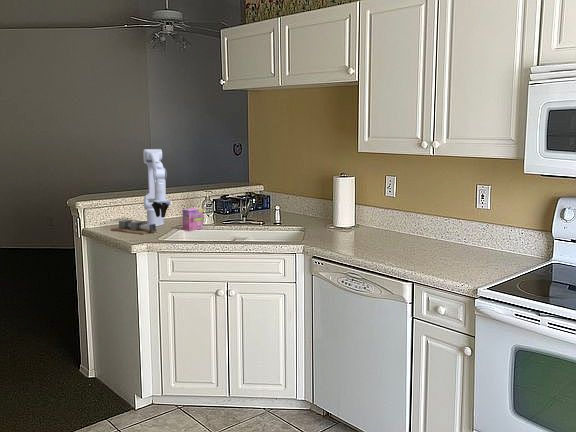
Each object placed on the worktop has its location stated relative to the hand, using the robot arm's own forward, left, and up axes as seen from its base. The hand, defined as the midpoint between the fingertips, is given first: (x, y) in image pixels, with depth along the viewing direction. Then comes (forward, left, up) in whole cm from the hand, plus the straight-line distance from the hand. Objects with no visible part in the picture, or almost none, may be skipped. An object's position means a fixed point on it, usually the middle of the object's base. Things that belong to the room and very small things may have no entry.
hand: (160, 216), depth 311 cm
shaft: (0, -15, -8) cm, 17 cm away
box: (-20, +6, -10) cm, 23 cm away
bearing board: (0, -19, -9) cm, 21 cm away
